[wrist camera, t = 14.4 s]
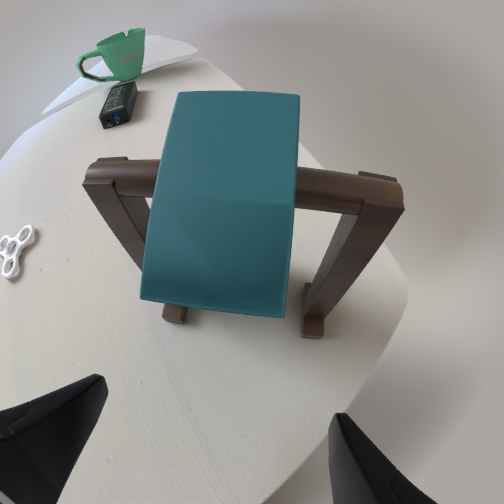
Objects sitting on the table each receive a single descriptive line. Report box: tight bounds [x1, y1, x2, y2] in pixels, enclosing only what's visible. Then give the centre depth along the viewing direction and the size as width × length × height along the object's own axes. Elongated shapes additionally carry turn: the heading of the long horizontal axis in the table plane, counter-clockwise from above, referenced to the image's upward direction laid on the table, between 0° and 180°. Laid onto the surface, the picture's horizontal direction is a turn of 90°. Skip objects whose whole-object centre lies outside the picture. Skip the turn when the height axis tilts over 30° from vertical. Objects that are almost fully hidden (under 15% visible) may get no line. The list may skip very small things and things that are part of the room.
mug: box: [76, 28, 145, 82], centre depth 38 cm, size 15×10×10 cm
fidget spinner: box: [0, 225, 35, 279], centre depth 22 cm, size 7×6×1 cm
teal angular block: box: [140, 91, 300, 318], centre depth 14 cm, size 7×4×13 cm, turn 173°
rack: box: [82, 157, 405, 339], centre depth 14 cm, size 4×12×14 cm, turn 83°
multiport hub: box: [99, 81, 138, 129], centre depth 35 cm, size 4×11×2 cm, turn 12°
